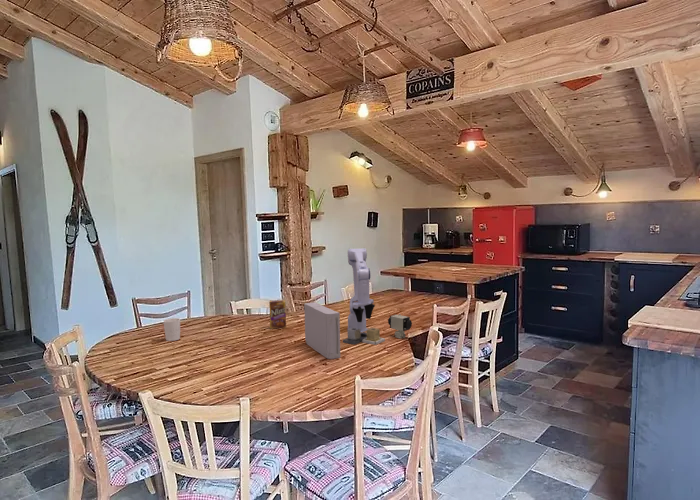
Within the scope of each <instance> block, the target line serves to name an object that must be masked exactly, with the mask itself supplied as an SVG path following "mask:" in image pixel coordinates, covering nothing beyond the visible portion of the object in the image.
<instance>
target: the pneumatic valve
mask: <svg viewBox="0 0 700 500" xmlns="http://www.w3.org/2000/svg"><path fill="white" fill-rule="evenodd" d="M387 323H388V326H389V328H390V329H393V330H395V331H394V337H395V338H398V339H405V338H406V333H405V332H406V331H409V330H411V328H412V325H413V322H412V320H411V319H410V316H406V315H402V314H400V313H399V314H393V315H392V314H391V315H390V316H389V318H388V320H387Z"/></svg>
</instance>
